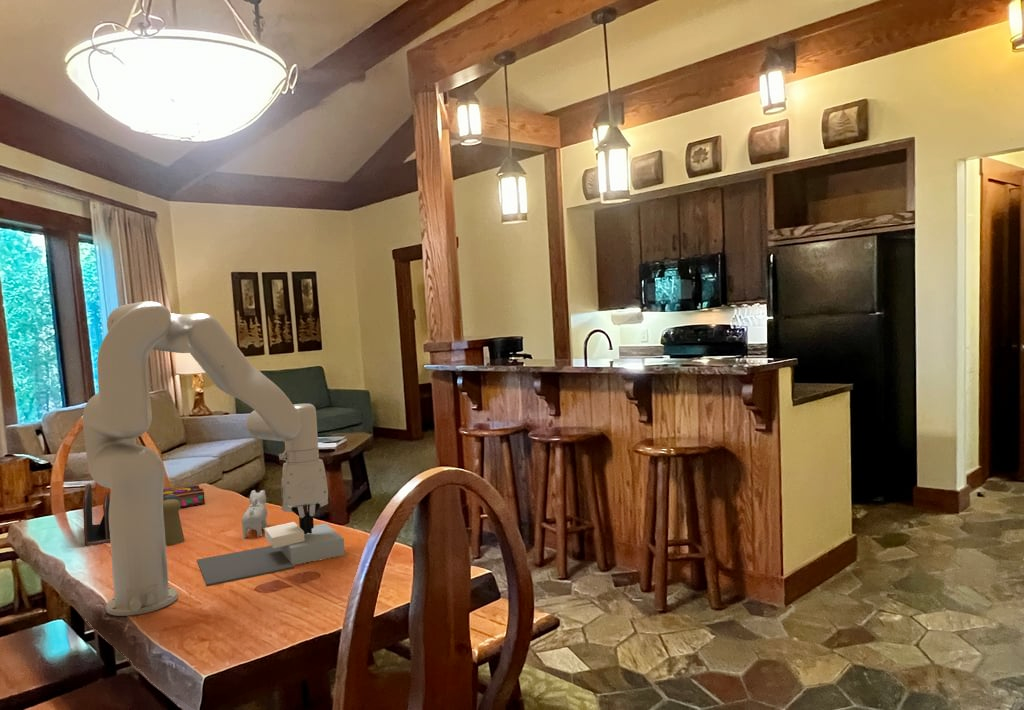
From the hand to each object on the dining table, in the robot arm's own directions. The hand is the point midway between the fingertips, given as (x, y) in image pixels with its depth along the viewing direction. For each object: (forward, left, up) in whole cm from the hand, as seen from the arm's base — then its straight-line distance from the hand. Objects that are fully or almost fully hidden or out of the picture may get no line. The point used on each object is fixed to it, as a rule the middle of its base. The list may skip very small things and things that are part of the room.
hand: (306, 532), depth 168 cm
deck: (0, -1, -5) cm, 5 cm away
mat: (0, +14, -5) cm, 15 cm away
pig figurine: (+27, +7, -5) cm, 28 cm away
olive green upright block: (+32, +27, -5) cm, 42 cm away
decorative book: (+79, +21, -5) cm, 82 cm away
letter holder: (+52, +42, -5) cm, 67 cm away
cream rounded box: (0, +5, -1) cm, 5 cm away
